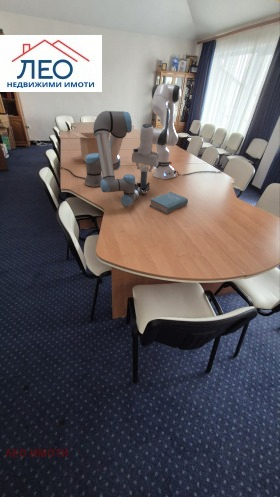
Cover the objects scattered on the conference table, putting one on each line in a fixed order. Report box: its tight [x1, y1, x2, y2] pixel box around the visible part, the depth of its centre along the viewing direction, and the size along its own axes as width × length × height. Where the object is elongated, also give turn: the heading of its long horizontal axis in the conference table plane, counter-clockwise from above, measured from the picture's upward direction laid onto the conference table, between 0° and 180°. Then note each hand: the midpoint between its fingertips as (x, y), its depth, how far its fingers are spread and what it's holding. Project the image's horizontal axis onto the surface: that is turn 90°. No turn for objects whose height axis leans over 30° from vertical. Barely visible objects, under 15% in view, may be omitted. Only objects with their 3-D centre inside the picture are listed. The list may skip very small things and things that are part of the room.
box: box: [70, 129, 111, 163], centre depth 229 cm, size 44×36×27 cm
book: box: [149, 191, 189, 214], centre depth 157 cm, size 23×16×5 cm
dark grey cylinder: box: [139, 171, 148, 196], centre depth 168 cm, size 5×5×20 cm
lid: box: [139, 165, 149, 173], centre depth 162 cm, size 6×6×2 cm
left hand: (145, 183), depth 174 cm, fingers closed on dark grey cylinder, 5 cm apart
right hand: (144, 170), depth 163 cm, fingers open, 8 cm apart
